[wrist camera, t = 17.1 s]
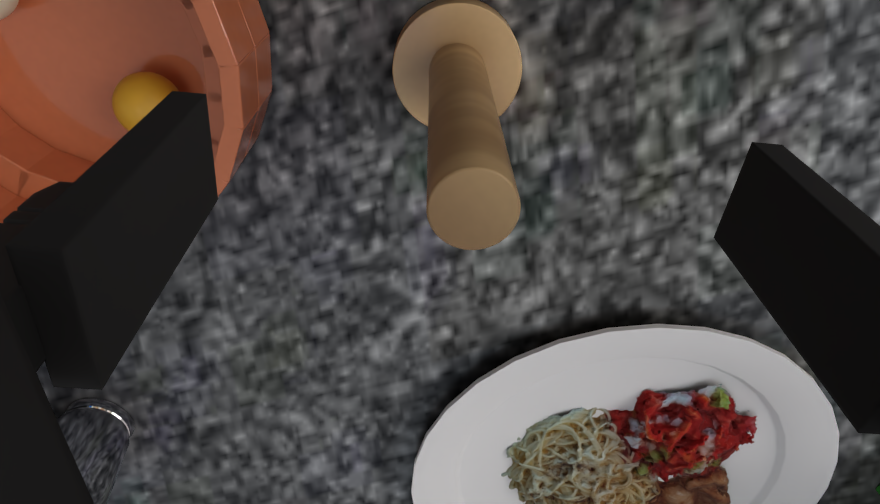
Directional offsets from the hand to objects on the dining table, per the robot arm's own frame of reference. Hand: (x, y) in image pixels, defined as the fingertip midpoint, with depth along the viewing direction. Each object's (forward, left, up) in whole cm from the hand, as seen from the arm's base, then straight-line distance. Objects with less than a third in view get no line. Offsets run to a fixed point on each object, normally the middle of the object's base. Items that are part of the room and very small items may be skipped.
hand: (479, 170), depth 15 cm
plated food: (+30, +15, -16) cm, 38 cm away
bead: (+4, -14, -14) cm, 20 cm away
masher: (+2, 0, -16) cm, 16 cm away
